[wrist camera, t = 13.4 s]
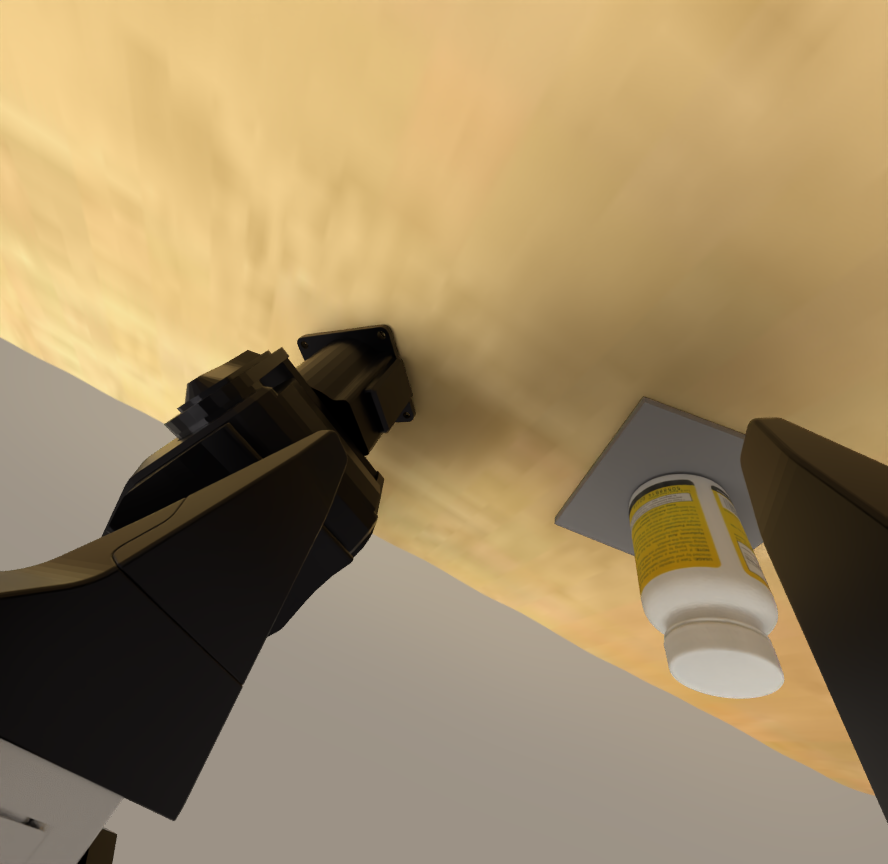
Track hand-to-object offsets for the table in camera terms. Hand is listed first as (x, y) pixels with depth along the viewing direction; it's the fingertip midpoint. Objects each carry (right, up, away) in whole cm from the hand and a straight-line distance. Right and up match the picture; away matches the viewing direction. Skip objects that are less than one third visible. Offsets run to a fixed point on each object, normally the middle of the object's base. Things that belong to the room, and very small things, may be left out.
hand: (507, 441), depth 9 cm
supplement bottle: (+13, -4, +15) cm, 20 cm away
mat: (+13, -4, +15) cm, 20 cm away
